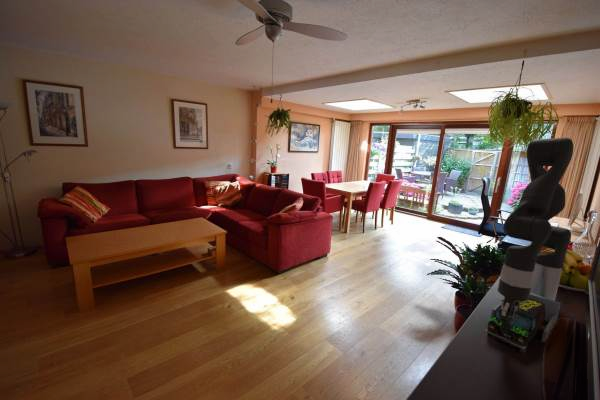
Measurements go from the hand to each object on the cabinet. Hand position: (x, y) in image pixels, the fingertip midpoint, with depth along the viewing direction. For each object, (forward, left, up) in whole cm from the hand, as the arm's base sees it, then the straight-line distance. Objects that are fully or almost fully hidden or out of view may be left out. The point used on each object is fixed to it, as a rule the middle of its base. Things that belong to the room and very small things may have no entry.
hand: (504, 332), depth 83 cm
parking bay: (-24, 0, -5) cm, 25 cm away
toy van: (-14, 0, -6) cm, 15 cm away
